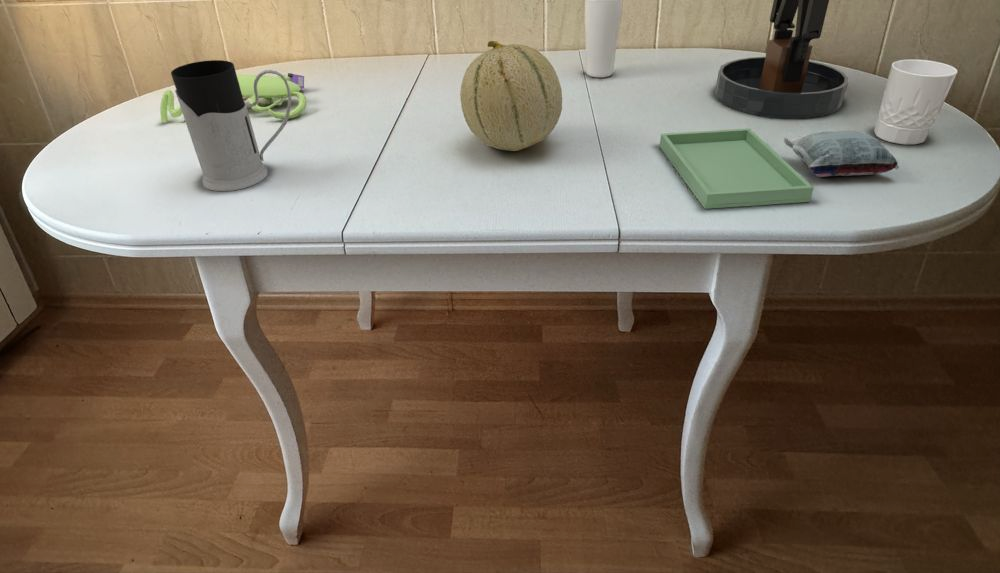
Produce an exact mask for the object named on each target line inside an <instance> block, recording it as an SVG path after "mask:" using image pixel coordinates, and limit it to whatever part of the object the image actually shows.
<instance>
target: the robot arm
mask: <svg viewBox="0 0 1000 573" xmlns="http://www.w3.org/2000/svg"><path fill="white" fill-rule="evenodd" d="M829 3H830V0H773V1H772V8H771V10H770V16H769V22H770V24H773V29H774V35H773V39H772V40H775V39H790V40H791V42H790V46H789V51H788V56H787V60H786V65H785V69H784V73H783V78H782V81H783V82H789V81H800V79H801V74H802V70H803V66H804V62H805V59H806V55H807V50H808V46H809V44H810V42H811V41H812V40H817V39H820V38H821V35H822V31H823V28H824V23H825V19H826V15H827V11H828V7H829ZM796 13H797V14H796ZM795 16H796V23H795V24H794V19H795ZM793 29H795V32H794V30H793ZM793 33H794V36H793Z"/></svg>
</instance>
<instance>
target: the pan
mask: <svg viewBox="0 0 1000 573" xmlns="http://www.w3.org/2000/svg"><path fill="white" fill-rule="evenodd" d="M765 57H766V56H754V57H753V56H752V57H751V56H750V57H745V58H739V59H734V60H730V61H728V62H725V63H724V64H722V65H721V66H720V67H719V69H718V72H717V77H716V84H715V89H714V91H715V93H714V94H715V97H716V99H717V100H718V101H719V102H720V103H721V104H723V105H724V106H726V107H728V108H730V109H734V110H735V111H738V112H742V113H746V114H750V115H755V116H759V117H766V118H773V119H787V120H788V119H791V120H798V119H800V120H801V119H802V120H803V119H812V118H820V117H824V116H828V115H831V114H834V113H836V112H837V111H838V110H840V108H841V107H842V105H843V103H844V98H845V96H846V93H847V89H848V85H849V77H848V76H847V75H846V73H845V72H843V71H842V70H840V69H838V68H837V67H835V66H831V65H828V64H825V63H823V62H822V63H821V62H817V61H812V60H809V63H808V67H807V71H806V75H805V79H804V83H803V87H802V91H801V93H787V92H776V91H767V90H762V89H760V88H759V86H760V81H761V76H762V71H763V66H764V62H765Z"/></svg>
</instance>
